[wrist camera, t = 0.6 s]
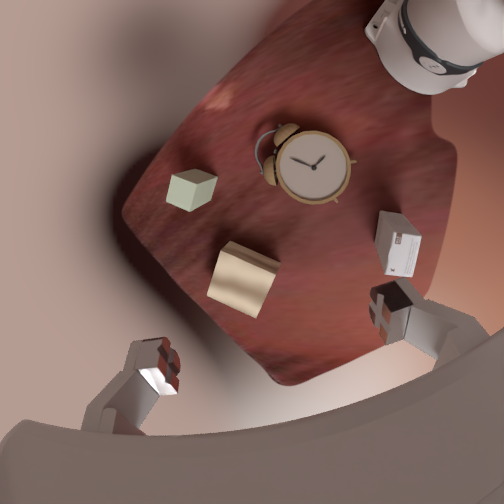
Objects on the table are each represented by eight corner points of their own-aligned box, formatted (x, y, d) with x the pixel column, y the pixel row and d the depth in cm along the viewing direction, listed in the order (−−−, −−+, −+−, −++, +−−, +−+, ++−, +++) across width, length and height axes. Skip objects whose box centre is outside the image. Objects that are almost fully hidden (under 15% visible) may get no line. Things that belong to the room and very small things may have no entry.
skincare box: (396, 246, 42) (414, 280, 31) (372, 243, 43) (383, 277, 32) (402, 211, 39) (425, 236, 29) (377, 208, 41) (393, 231, 30)
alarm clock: (334, 216, 41) (241, 181, 40) (329, 207, 45) (246, 174, 44) (364, 150, 35) (267, 110, 35) (355, 147, 40) (269, 111, 39)
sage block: (195, 168, 46) (172, 174, 39) (217, 176, 46) (197, 184, 39) (189, 191, 49) (165, 201, 41) (210, 200, 48) (189, 211, 41)
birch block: (230, 240, 50) (220, 250, 46) (281, 262, 49) (275, 274, 45) (216, 282, 55) (206, 295, 50) (262, 303, 54) (255, 318, 49)
